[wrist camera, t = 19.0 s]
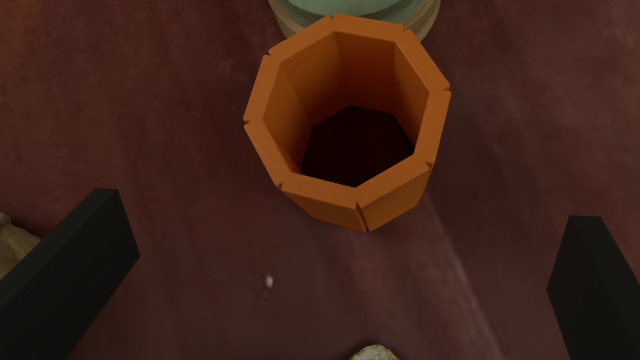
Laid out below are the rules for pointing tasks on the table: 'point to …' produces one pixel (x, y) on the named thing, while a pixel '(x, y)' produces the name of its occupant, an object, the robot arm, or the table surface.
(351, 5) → the stacking base
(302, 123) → the orange octagonal tube
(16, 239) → the pastry
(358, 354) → the fruit
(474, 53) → the table surface
